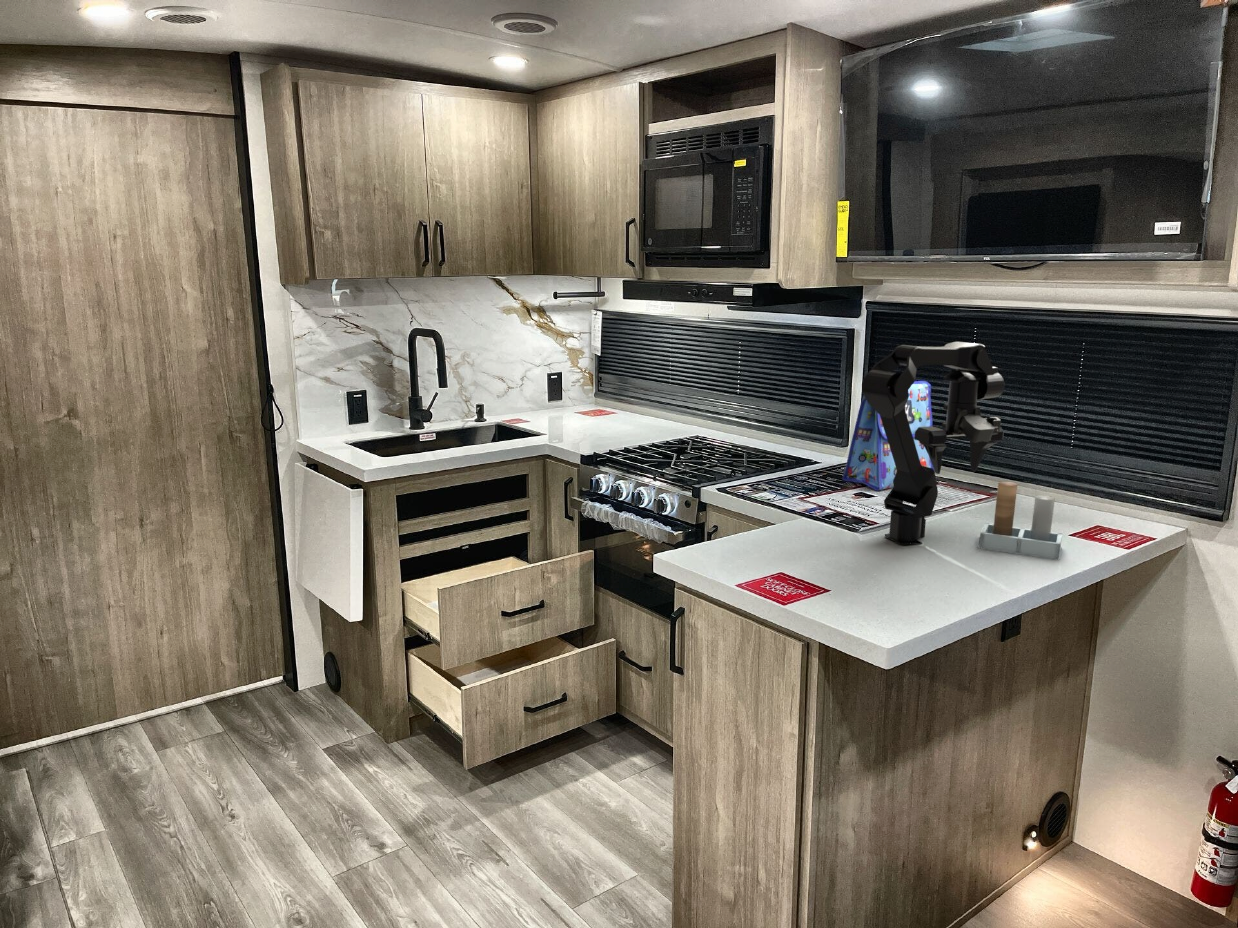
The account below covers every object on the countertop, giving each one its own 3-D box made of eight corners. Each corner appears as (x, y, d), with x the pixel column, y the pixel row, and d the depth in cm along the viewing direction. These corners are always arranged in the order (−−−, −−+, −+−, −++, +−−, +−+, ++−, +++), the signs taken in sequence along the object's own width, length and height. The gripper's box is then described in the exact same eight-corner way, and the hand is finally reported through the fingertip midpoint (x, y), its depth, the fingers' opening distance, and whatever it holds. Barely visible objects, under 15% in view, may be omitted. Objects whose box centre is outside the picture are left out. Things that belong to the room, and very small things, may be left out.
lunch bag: (880, 492, 228) (888, 380, 221) (840, 480, 239) (847, 373, 232) (936, 481, 239) (946, 373, 233) (896, 470, 250) (904, 368, 244)
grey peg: (1037, 553, 180) (1044, 501, 177) (1025, 548, 183) (1031, 496, 181) (1052, 552, 181) (1058, 499, 178) (1039, 546, 184) (1045, 495, 182)
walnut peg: (1007, 548, 183) (1014, 487, 180) (989, 544, 185) (995, 484, 182) (1012, 543, 186) (1019, 483, 182) (994, 540, 188) (1001, 480, 184)
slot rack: (977, 551, 183) (979, 533, 183) (983, 539, 191) (985, 522, 190) (1058, 563, 177) (1060, 545, 176) (1060, 550, 184) (1063, 532, 183)
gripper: (948, 409, 181) (941, 484, 185) (1025, 405, 186) (1017, 478, 190) (916, 401, 192) (910, 471, 195) (989, 397, 197) (982, 466, 200)
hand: (955, 472), depth 195 cm, fingers open, 9 cm apart
